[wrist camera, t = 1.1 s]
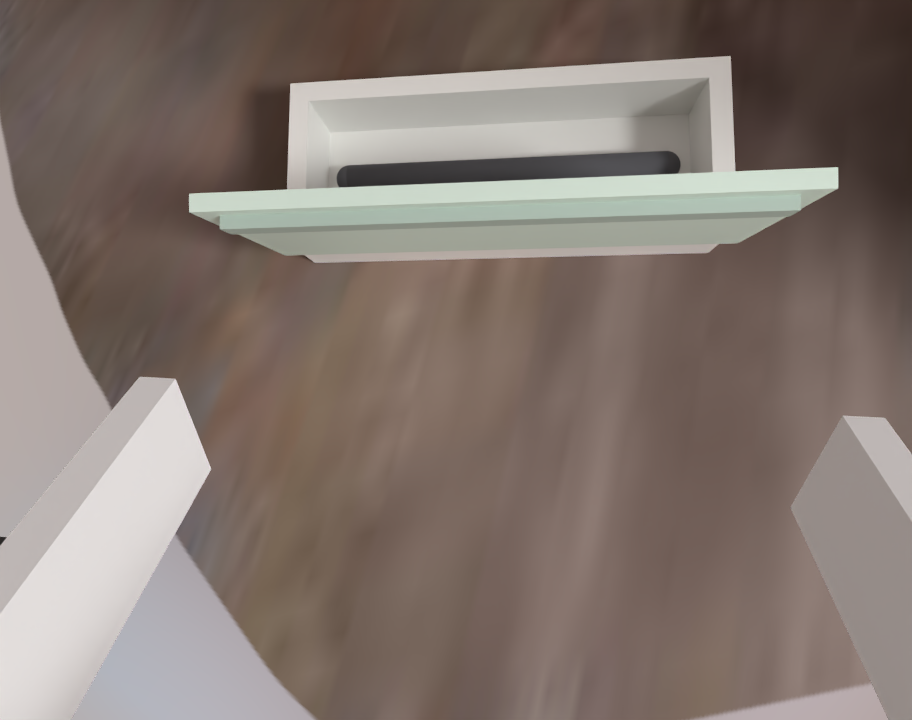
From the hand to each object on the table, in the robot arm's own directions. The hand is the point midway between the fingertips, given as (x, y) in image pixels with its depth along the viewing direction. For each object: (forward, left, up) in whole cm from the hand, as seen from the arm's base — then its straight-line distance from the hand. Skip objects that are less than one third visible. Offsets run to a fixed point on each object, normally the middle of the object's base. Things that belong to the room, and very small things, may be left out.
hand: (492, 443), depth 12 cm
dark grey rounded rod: (+1, -16, -24) cm, 29 cm away
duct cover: (0, -10, -15) cm, 18 cm away
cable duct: (0, -16, -25) cm, 30 cm away
